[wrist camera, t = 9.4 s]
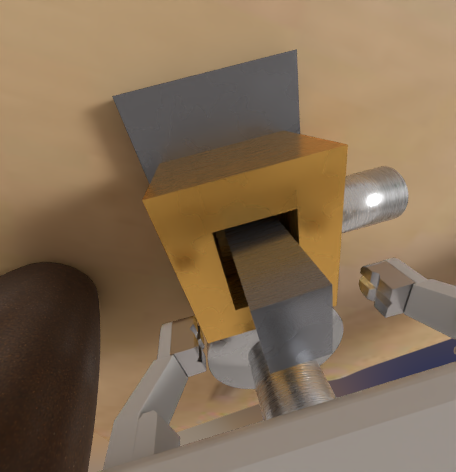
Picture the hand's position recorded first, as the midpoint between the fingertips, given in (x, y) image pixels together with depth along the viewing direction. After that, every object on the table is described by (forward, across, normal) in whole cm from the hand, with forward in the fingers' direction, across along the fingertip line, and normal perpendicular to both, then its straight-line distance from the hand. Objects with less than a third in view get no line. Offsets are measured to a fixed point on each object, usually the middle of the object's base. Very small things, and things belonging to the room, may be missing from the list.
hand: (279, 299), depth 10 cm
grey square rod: (+10, 0, 0) cm, 10 cm away
